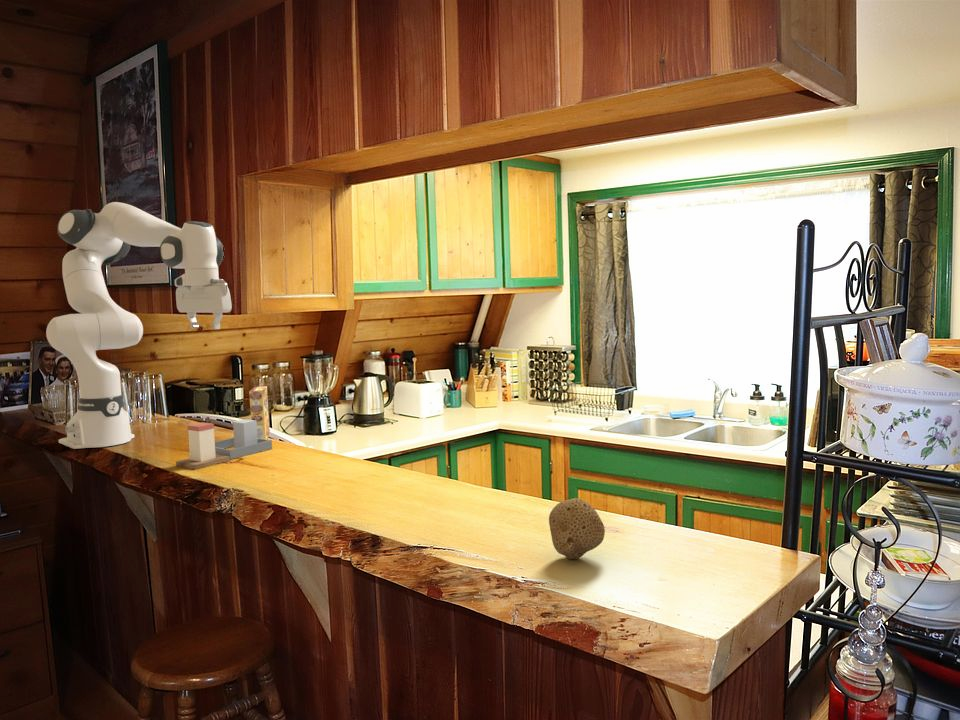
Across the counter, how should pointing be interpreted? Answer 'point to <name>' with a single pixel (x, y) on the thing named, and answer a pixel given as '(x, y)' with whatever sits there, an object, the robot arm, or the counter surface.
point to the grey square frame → (241, 448)
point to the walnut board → (197, 464)
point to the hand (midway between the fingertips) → (205, 328)
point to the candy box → (260, 411)
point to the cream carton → (201, 441)
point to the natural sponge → (575, 528)
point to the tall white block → (245, 433)
